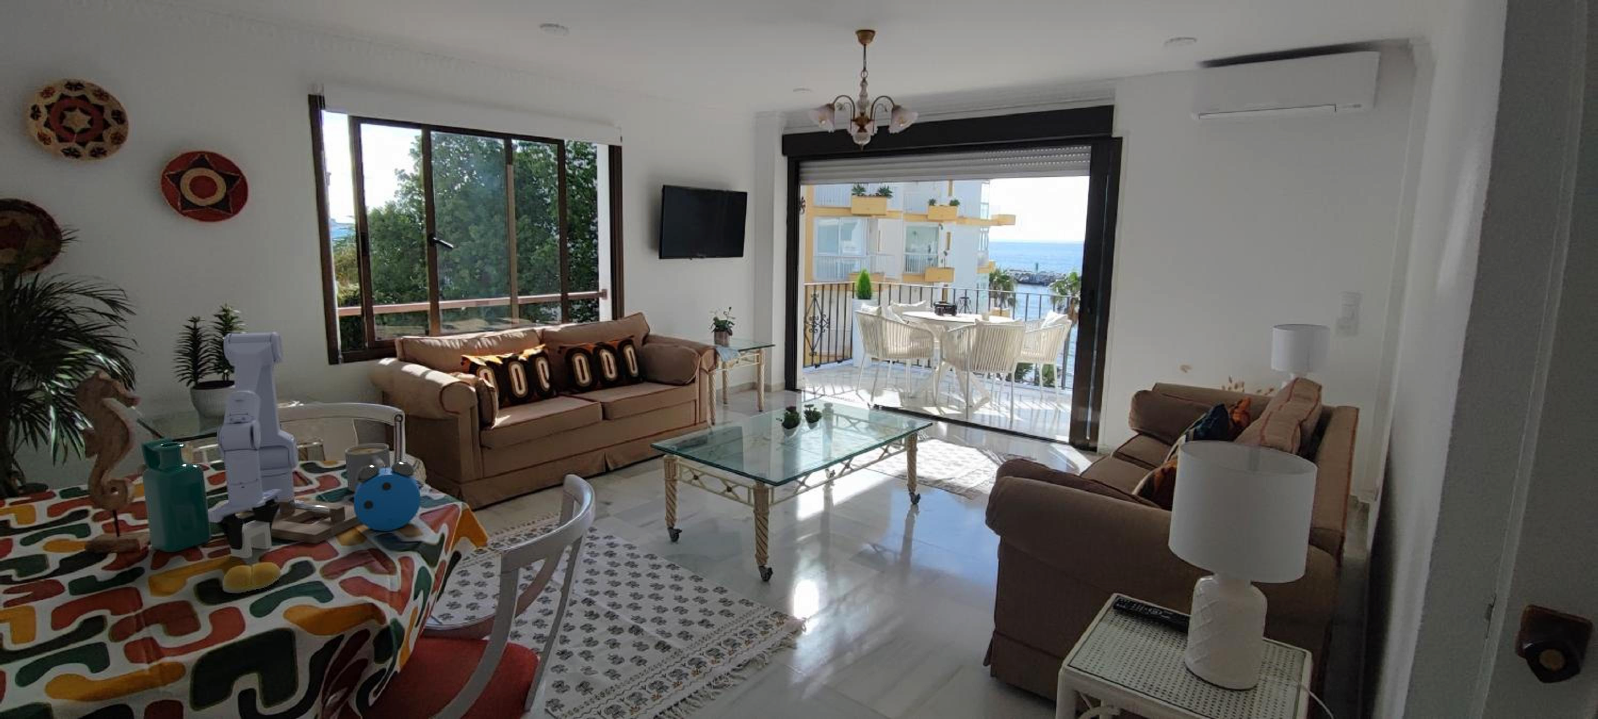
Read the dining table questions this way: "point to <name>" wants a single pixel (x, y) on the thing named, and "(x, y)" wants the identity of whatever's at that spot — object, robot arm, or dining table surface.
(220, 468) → the dining table surface
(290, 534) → the shelf
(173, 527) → the teal bottle
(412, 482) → the alarm clock
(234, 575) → the bread roll
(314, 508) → the hook bar
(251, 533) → the grey u-slotted block
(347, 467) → the coffee mug
